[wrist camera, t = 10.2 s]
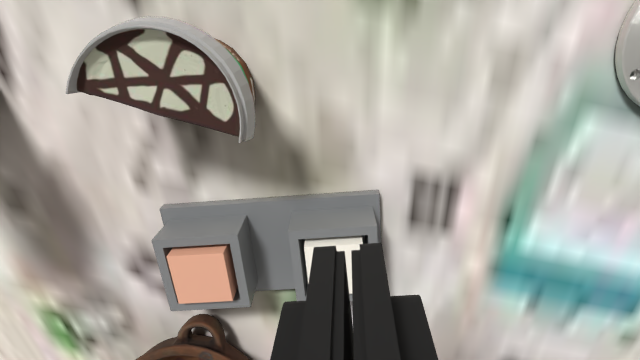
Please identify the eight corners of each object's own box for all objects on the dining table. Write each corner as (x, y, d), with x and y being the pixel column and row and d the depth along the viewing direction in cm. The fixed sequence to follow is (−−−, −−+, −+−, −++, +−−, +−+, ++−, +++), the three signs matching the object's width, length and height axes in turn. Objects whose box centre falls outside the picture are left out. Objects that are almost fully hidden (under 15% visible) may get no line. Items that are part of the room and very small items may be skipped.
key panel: (378, 189, 37) (385, 212, 32) (381, 278, 41) (387, 310, 36) (163, 204, 38) (140, 228, 33) (185, 289, 42) (166, 321, 37)
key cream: (360, 227, 36) (362, 243, 33) (362, 273, 37) (365, 292, 35) (306, 230, 36) (304, 247, 33) (311, 276, 38) (309, 295, 35)
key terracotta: (231, 236, 36) (223, 253, 33) (240, 281, 38) (232, 300, 35) (179, 239, 36) (166, 256, 34) (190, 283, 38) (178, 303, 35)
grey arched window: (287, 45, 33) (269, 50, 23) (270, 114, 35) (247, 145, 25) (141, 0, 32) (61, -13, 22) (132, 74, 34) (57, 91, 24)
